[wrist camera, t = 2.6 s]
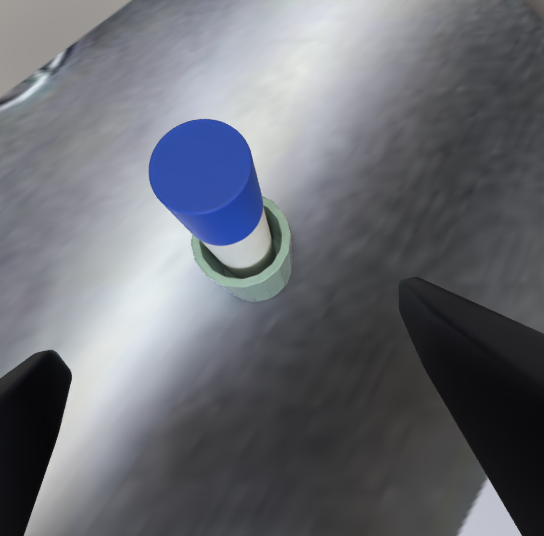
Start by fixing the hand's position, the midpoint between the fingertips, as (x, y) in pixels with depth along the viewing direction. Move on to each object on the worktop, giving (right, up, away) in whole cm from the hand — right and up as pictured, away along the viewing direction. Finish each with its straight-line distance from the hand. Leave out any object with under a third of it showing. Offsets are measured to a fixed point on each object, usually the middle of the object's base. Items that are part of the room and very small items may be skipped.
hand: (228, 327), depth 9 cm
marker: (0, +2, +12) cm, 12 cm away
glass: (0, +2, +12) cm, 12 cm away
